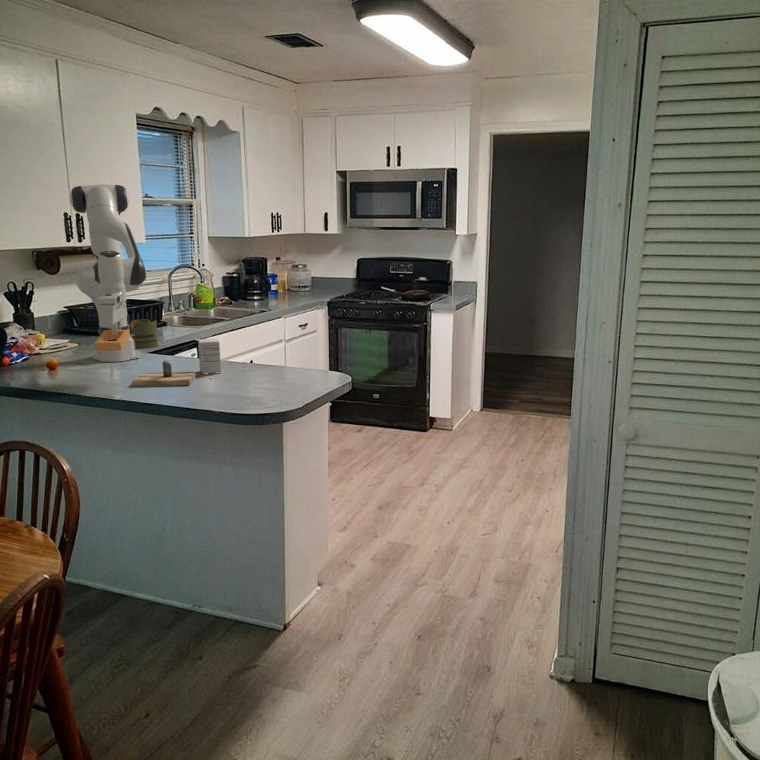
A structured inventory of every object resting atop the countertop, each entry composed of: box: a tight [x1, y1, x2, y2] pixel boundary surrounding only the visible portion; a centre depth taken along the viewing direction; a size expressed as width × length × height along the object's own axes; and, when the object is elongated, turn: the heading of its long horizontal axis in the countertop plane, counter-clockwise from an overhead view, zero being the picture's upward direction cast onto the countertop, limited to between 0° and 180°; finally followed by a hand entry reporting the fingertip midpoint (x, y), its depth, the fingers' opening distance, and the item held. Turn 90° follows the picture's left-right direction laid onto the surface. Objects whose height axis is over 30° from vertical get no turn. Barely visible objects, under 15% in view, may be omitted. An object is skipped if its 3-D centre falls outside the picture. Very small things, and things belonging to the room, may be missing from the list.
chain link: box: [93, 329, 131, 352], centre depth 257 cm, size 13×9×3 cm
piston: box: [130, 318, 159, 350], centre depth 330 cm, size 11×12×11 cm
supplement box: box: [197, 338, 222, 375], centre depth 275 cm, size 7×7×13 cm
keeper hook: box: [161, 360, 173, 377], centre depth 259 cm, size 4×3×6 cm, turn 4°
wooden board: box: [131, 371, 197, 387], centre depth 261 cm, size 14×20×2 cm
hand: (116, 333), depth 262 cm, fingers closed on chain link, 2 cm apart
